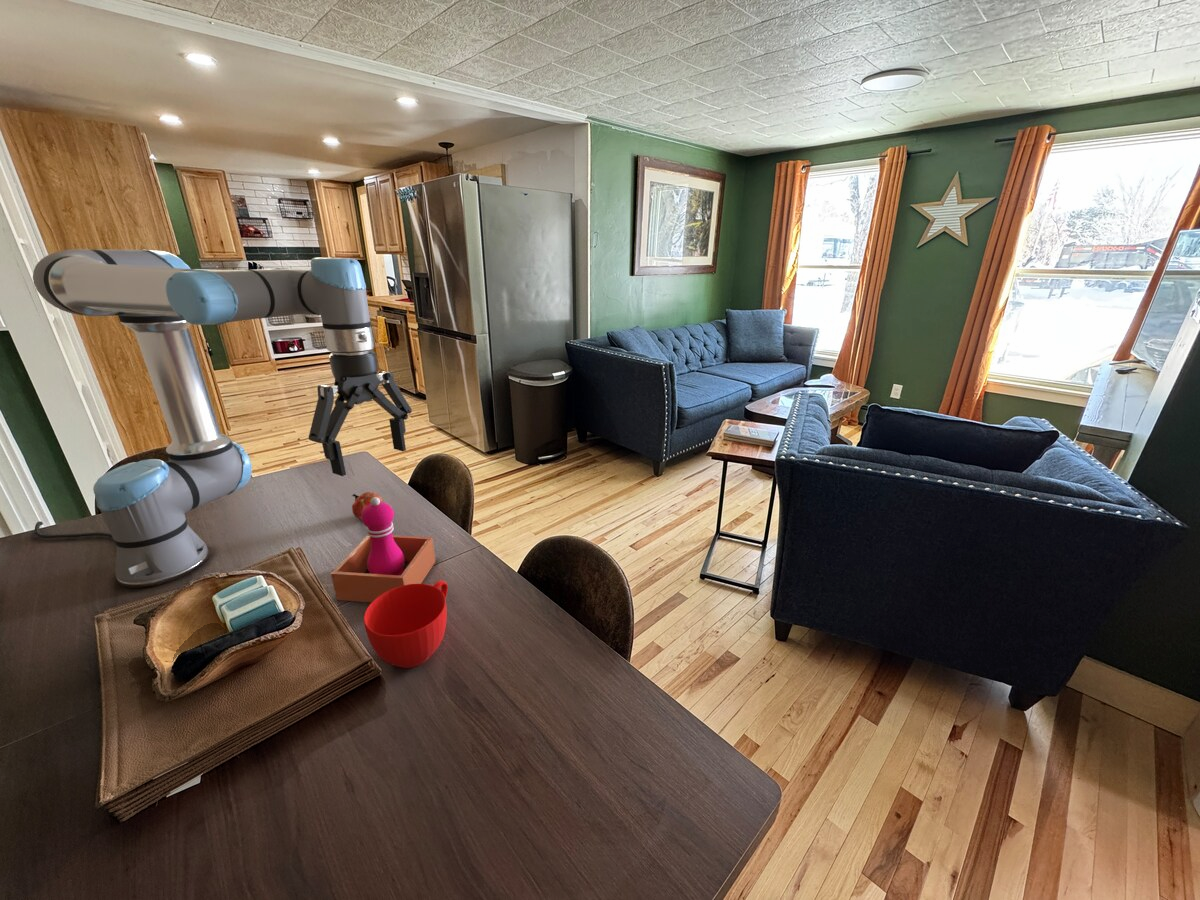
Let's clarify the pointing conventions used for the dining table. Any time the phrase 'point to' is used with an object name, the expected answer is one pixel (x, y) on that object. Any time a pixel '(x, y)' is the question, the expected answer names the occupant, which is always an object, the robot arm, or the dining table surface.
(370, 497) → the pomegranate
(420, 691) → the dining table surface
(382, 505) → the pepper mill
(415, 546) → the open wooden tray
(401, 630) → the ceramic cup
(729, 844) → the dining table surface
